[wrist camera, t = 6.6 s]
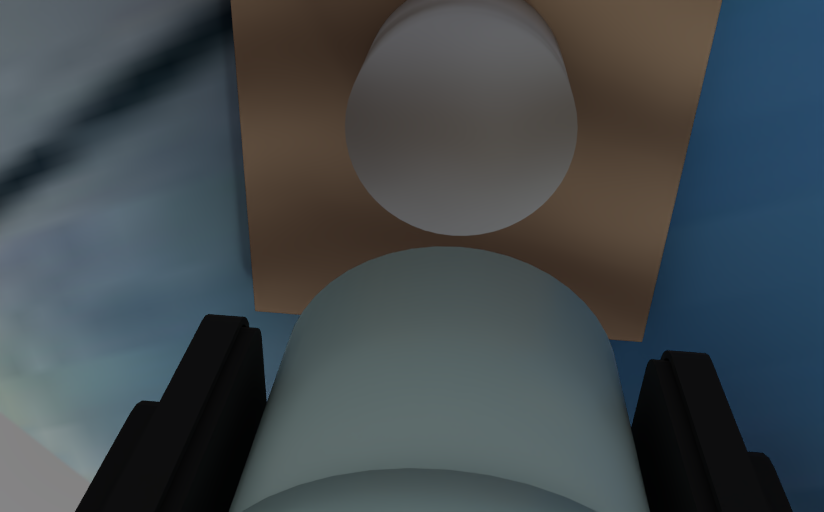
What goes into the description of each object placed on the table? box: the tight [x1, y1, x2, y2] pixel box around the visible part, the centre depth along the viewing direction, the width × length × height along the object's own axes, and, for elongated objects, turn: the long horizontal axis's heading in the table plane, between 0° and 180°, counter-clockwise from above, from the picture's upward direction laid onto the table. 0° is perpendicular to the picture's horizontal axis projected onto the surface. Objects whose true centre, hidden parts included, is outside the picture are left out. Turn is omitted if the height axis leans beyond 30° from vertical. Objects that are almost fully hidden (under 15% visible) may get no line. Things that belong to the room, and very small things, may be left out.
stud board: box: [231, 0, 722, 342], centre depth 23 cm, size 18×14×5 cm
